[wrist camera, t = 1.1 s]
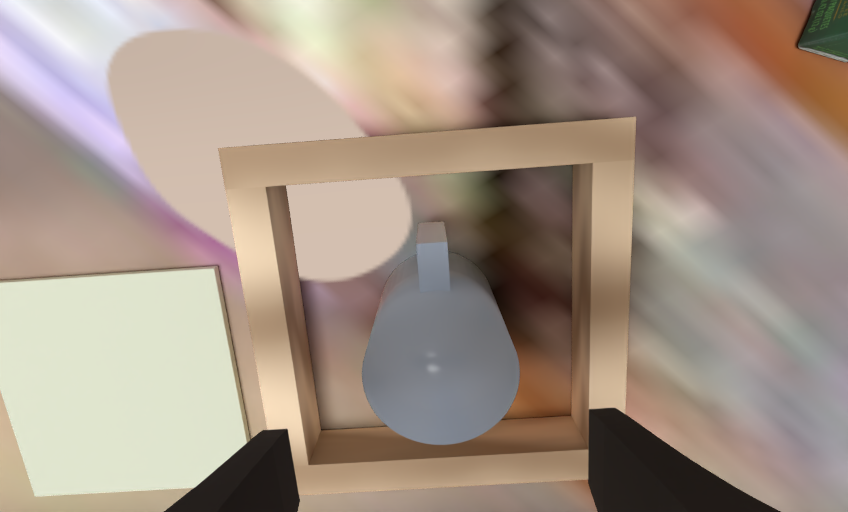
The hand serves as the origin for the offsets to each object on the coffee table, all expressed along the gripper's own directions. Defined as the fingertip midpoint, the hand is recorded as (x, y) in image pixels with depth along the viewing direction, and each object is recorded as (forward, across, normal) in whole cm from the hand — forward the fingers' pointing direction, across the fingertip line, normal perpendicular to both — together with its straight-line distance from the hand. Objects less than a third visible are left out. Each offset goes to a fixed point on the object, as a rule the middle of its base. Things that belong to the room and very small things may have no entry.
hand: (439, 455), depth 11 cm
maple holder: (+10, 0, 0) cm, 10 cm away
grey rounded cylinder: (+10, 0, 0) cm, 10 cm away
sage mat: (+10, +15, +3) cm, 18 cm away
